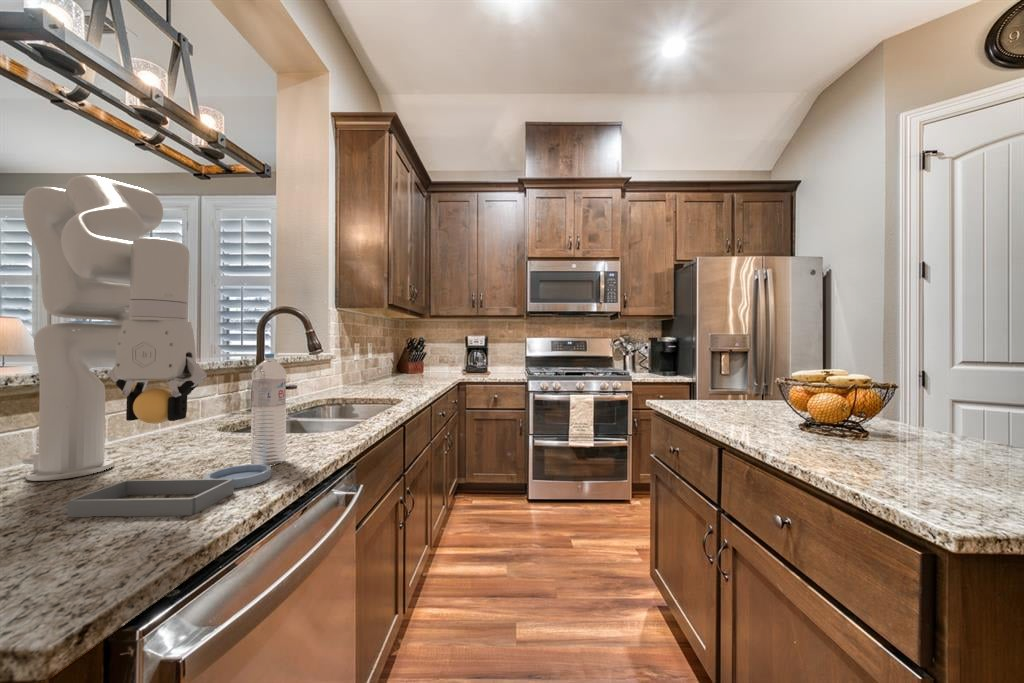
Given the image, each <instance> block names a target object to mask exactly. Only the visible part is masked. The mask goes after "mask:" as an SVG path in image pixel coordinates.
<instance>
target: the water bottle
mask: <svg viewBox="0 0 1024 683" xmlns="http://www.w3.org/2000/svg"><path fill="white" fill-rule="evenodd" d="M264 357H265V358H264V359H265V360H263V361H261V362H260V363H258V365H257V366H255V367H254V368H253V370H252V372H251V381H252V383H251V385H252V386H251V409H250V410H251V412H250V413H251V419H250V423H251V424H250V427H251V428H250V464H264V465H269V466H270V465H274V464H278V463H281V462H283V461H284V462H285V461H286V451H287V449H286V448H287V445H286V444H287V433H286V432H287V404H286V395H287V394H286V392H287V391H286V390H287V389H286V388H287V387H286V385H287V370H286V369H285V367H284V366H283V365H281V363H280V362H278V361H277V360H275V359H274V358H275V353H265V354H264ZM284 462H283V463H284ZM281 464H282V463H281Z"/></svg>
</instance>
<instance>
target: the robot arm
mask: <svg viewBox="0 0 1024 683" xmlns="http://www.w3.org/2000/svg"><path fill="white" fill-rule="evenodd" d="M22 202H23V204H22V214H23V220H24V222H25V226H26V229H27V232H28V234H29V236H30V238H31V240H32V242H33V244H34V245H35V247H36V250H37V252H38V256H39V268H40V270H39V271H40V285H41V286H40V287H41V297H42V304H43V307H44V309H45V311H46V312H47V313H48V314H50V315H51V316H54V317H56V318H57V317H58V318H65V319H72V320H73V319H74V320H76V319H77V320H93V321H110V322H113V323H114V324H104V323H103V324H102V323H101V324H100V323H99V324H98V323H83V322H81V323H79V322H60V323H59V322H58V323H51V324H48V325H45V326H43V327H41V328H39V329H38V330H37V331H36V333H35V334H34V338H33V349H34V354H35V358H36V364H37V368H38V376H39V378H38V379H39V406H38V407H39V411H38V412H39V413H38V416H39V417H38V418H39V419H38V450H37V452H34V453H32V454H31V453H30V455H29V457H28V456H27V457H24V458H23V459H22V464H23V465H33V467H32V468H33V469H32V470H29V471H28V472H27V473H25V479H26V480H27V481H33V482H37V481H38V482H43V481H44V482H45V481H46V482H49V481H56V480H57V481H58V480H66V479H72V478H78V477H83V476H87V475H88V476H89V475H93V473H94V474H96V473H97V472H98V473H101V472H104V470H105V471H107V470H109V468H110V469H111V467H112V468H113V467H114V466H115V460H113V459H110V458H105V439H106V438H105V437H106V435H105V434H106V431H105V430H106V387H105V384H104V382H102V380H101V379H100V378H99V377H98V376H96V374H94V373H93V372H92V371H91V370H90V369H92V368H112V369H111V370H109V371H108V373H107V376H108V378H110V379H111V380H112V381H113V382H114V383H115V385H116V386H117V387H118V388H119V389H120V391H121V394H122V396H123V397H126V411H125V412H126V414H125V416H126V417H125V419H126V421H128V422H129V421H136V420H139V419H138V418H137V417H136V416H135V414H134V412H133V404H134V401H135V399H136V398H137V397H138V396H139V395H140V394H141V393H142V392H144V391H146V388H147V386H148V383H149V382H150V381H153V382H154V381H158V382H159V381H163V382H165V381H166V383H167V385H168V387H169V388H168V389H169V390H171V393H172V395H173V397H169V398H168V422H175V421H180V420H183V419H184V420H185V419H186V418H187V413H188V396H190V395H191V394H192V393H193V391H194V389H196V388H197V387H198V386H199V384H201V382H202V381H204V380H205V379H206V378H207V376H208V375H207V372H206V371H205V370H204V369H203V368H202V366H200V365H199V364H198V363H197V355H196V354H197V353H196V342H195V334H194V329H193V325H192V322H190V321H189V295H190V294H189V290H190V289H189V288H190V287H189V286H190V250H189V248H188V247H187V246H186V245H185V244H183V243H182V242H179V241H177V240H172V239H167V238H162V237H161V238H160V237H150V236H144V235H146V234H148V233H151V232H152V231H154V230H155V229H157V228H159V227H158V226H160V224H161V222H162V221H163V217H164V208H163V207H164V206H163V204H162V203H161V200H160V199H159V197H158V196H157V195H156V194H154V193H153V192H151V191H149V190H147V189H144V188H141V187H138V186H134V185H131V184H127V183H124V182H120V181H116V180H113V179H109V178H106V177H101V176H99V175H98V176H97V175H91V174H90V175H88V174H87V175H86V174H85V175H78V176H73V177H72V178H71V179H69V180H68V182H67V183H66V185H65V189H64V188H59V187H52V186H36V187H32V188H30V189H28V190H27V191H26V193H25V195H24V197H23V201H22ZM142 236H144V237H142ZM106 469H107V470H106Z"/></svg>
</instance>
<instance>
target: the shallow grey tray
mask: <svg viewBox="0 0 1024 683" xmlns="http://www.w3.org/2000/svg"><path fill="white" fill-rule="evenodd" d="M233 488H234V479H205V478H183V479H180V478H179V479H177V478H176V479H175V478H173V479H172V478H171V479H127V480H123V481H120V482H119V481H118V482H115V483H114V484H110V485H108V486H105V487H102V488H100V489H96V490H93V491H90V492H87V493H85V494H82V495H79V496H76V497H73V498H70V499H69V500H67V501H66V504H67V506H66V518H92V517H91V516H123V517H166V516H167V517H168V516H169V517H171V516H172V517H173V516H179V517H181V516H182V517H183V516H192V515H196V514H197V513H200V512H201V511H204V510H205V509H207V508H209V507H211V506H212V505H215V504H216V503H219V502H220V501H222V500H224V499H225V498H227V497H230V496H231V495H233V494H234V489H233ZM152 495H153V496H155V495H156V496H161V495H163V496H164V495H171V496H172V495H195V496H193V497H162V498H161V497H159V498H158V497H157V498H156V497H155V498H122V497H125V496H152Z"/></svg>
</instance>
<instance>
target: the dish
mask: <svg viewBox="0 0 1024 683" xmlns="http://www.w3.org/2000/svg"><path fill="white" fill-rule="evenodd" d="M271 467H272V466H269V465H264V464H251V463H250V464H241V465H233V466H232V465H231V466H228V467H224V468H219V469H216V470H214V471H211V472H208V473H206V475H205V477H204V479H234V488H233V490H235V489H236V488H237V489H242V488H241V487H243V488H247V487H246V486H248V487H251V486H250V485H252V486H255V485H254V484H256V485H258V484H257V483H259V484H261V482H262V483H264V482H266V481H268V480H270V478H271V477H272V469H271ZM270 476H271V477H270ZM267 479H268V480H267ZM265 480H266V481H265ZM263 481H264V482H263Z"/></svg>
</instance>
